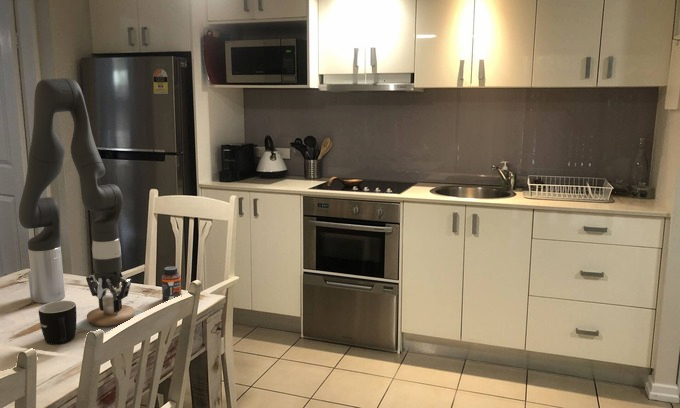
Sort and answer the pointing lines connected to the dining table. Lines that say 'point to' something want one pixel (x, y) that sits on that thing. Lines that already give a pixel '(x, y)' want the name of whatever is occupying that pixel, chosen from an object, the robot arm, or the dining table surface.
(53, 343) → the mug
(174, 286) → the supplement bottle
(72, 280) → the dining table surface
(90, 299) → the dining table surface
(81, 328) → the mat
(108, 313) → the lid
